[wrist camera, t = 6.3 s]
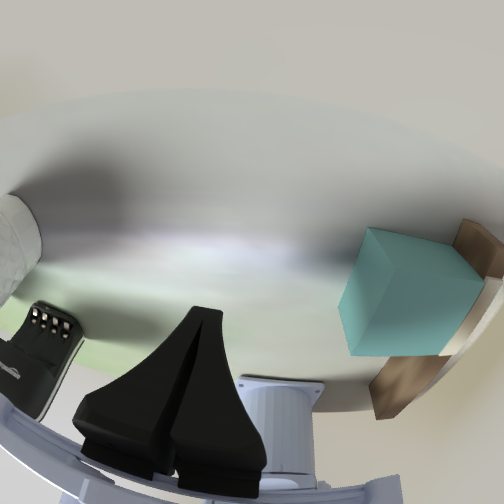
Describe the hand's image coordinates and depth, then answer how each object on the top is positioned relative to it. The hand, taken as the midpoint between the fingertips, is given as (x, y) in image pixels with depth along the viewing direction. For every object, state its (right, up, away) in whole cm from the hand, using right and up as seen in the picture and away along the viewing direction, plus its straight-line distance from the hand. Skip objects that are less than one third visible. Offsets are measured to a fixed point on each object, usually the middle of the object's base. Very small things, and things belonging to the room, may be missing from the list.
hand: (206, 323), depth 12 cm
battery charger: (-17, -3, +9) cm, 19 cm away
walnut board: (+16, -2, +6) cm, 17 cm away
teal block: (+12, +2, +4) cm, 13 cm away
